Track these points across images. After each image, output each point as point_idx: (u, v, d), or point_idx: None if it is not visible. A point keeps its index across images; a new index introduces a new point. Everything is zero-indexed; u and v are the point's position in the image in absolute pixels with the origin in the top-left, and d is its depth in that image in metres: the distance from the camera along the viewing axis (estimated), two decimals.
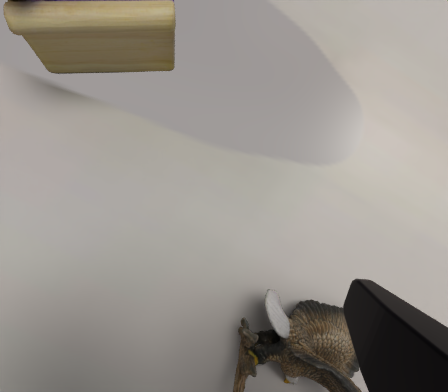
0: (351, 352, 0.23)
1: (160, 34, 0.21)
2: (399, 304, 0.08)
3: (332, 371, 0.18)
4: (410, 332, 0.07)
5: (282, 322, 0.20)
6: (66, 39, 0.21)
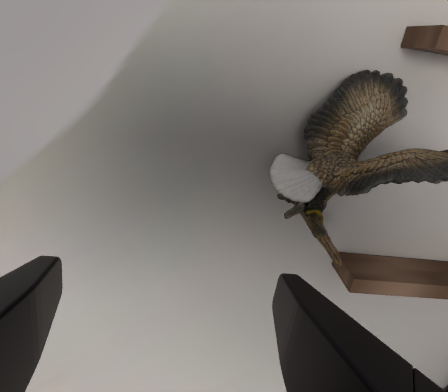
0: (387, 106, 0.19)
1: None
2: (316, 298, 0.08)
3: (380, 182, 0.16)
4: (316, 327, 0.07)
5: (306, 182, 0.18)
6: None
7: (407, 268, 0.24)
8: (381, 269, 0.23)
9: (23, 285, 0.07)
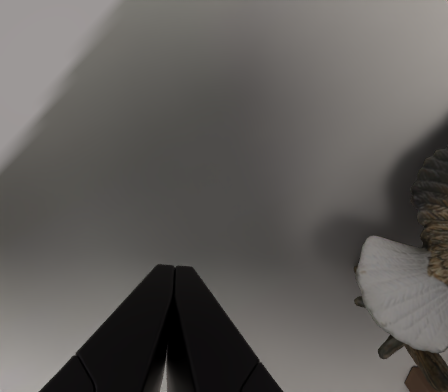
0: None
1: None
2: (197, 290, 0.07)
3: None
4: (178, 320, 0.06)
5: (433, 302, 0.09)
6: None
7: None
8: None
9: (162, 294, 0.07)
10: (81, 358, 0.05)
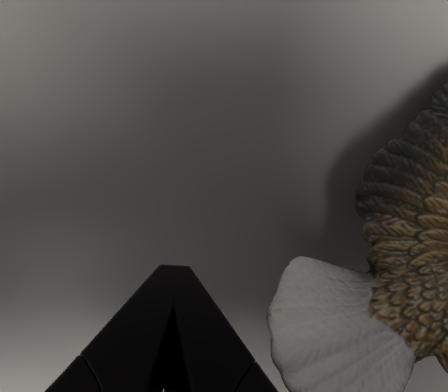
0: None
1: None
2: (193, 290, 0.07)
3: None
4: (174, 319, 0.06)
5: (373, 356, 0.06)
6: None
7: None
8: None
9: (165, 294, 0.07)
10: (86, 358, 0.05)
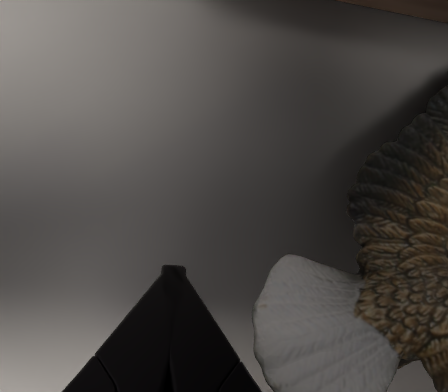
0: None
1: None
2: (182, 289, 0.07)
3: None
4: (161, 319, 0.06)
5: (356, 356, 0.06)
6: None
7: None
8: None
9: (176, 295, 0.07)
10: (100, 359, 0.05)
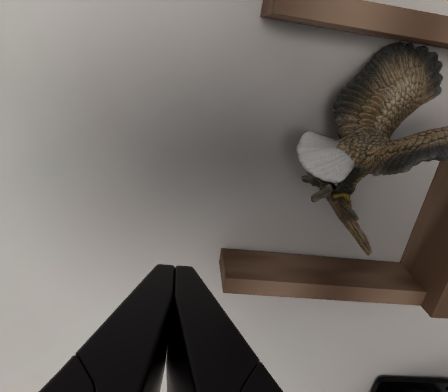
0: (423, 81, 0.18)
1: None
2: (196, 290, 0.07)
3: (422, 160, 0.15)
4: (178, 320, 0.06)
5: (337, 161, 0.16)
6: None
7: (296, 266, 0.22)
8: (265, 267, 0.21)
9: (162, 294, 0.07)
10: (81, 358, 0.05)
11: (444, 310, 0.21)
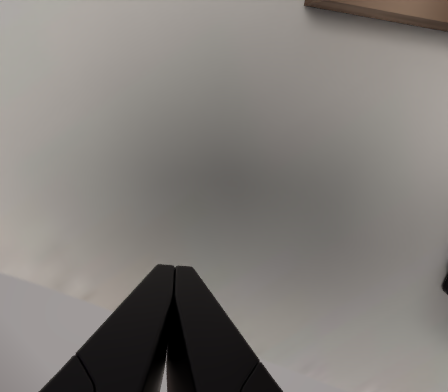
0: None
1: None
2: (197, 290, 0.07)
3: None
4: (178, 320, 0.06)
5: None
6: None
7: None
8: None
9: (162, 294, 0.07)
10: (81, 358, 0.05)
11: None
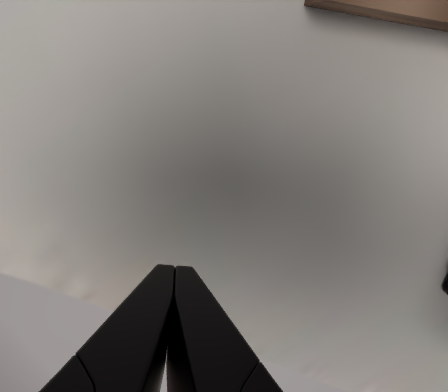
0: None
1: None
2: (197, 290, 0.07)
3: None
4: (178, 320, 0.06)
5: None
6: None
7: None
8: None
9: (162, 294, 0.07)
10: (81, 358, 0.05)
11: None
